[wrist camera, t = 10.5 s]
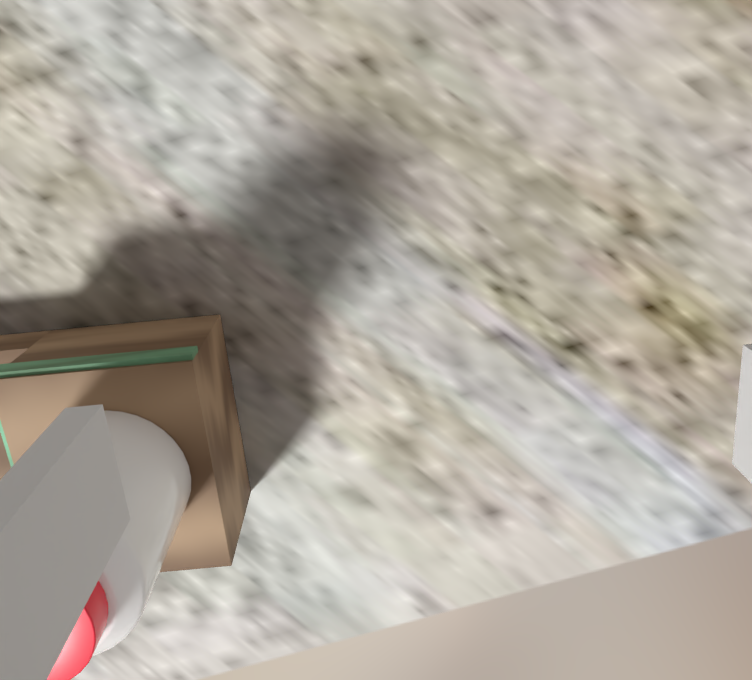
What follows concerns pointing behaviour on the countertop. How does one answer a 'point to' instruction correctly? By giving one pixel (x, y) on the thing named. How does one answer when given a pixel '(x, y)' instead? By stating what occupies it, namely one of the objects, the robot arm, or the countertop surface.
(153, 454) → the pill bottle
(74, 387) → the stand
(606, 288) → the countertop surface
